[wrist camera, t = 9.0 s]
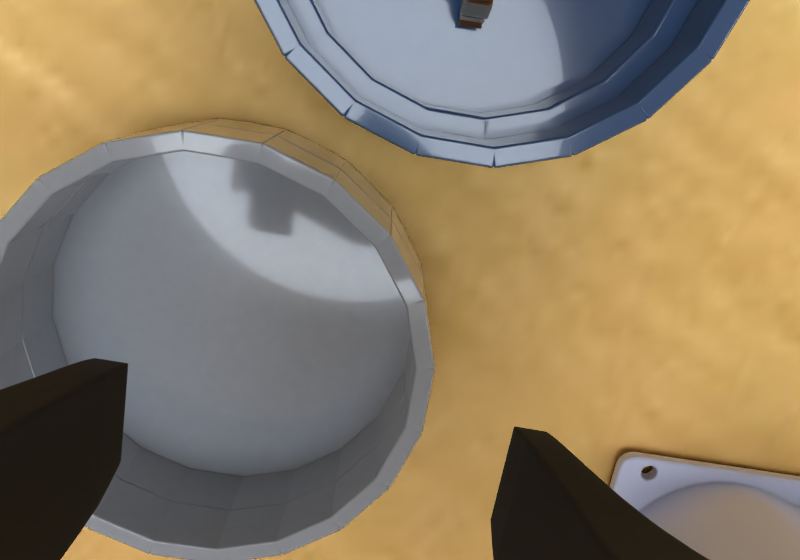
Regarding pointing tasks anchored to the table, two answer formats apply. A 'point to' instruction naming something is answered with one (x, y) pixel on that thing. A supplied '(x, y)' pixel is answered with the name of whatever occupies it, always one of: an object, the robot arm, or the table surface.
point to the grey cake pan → (226, 331)
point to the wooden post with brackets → (474, 12)
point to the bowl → (499, 69)
